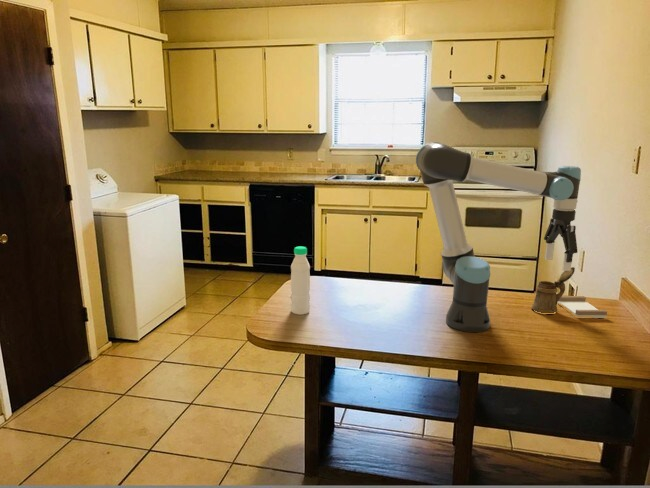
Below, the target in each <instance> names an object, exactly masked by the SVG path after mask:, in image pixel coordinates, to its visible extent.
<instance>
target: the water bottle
mask: <svg viewBox="0 0 650 488" xmlns="http://www.w3.org/2000/svg"><path fill="white" fill-rule="evenodd" d="M293 253H294V258H293V260H292V263H291V265H290V272H291V273H290V289H291V290H290V291H291V294H290V302H291V303H290V312H291V313H293V314H294V315H306V314H309V312H310V309H311V308H310V307H311V305H310V299H311V296H310V290H311V289H310V288H311V274H310V270H311V265H310V263H309V261H308V258H307V255H308V248H307V246H301V245H300V246H296V247H295V246H294V249H293Z"/></svg>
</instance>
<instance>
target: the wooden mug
mask: <svg viewBox="0 0 650 488" xmlns="http://www.w3.org/2000/svg"><path fill="white" fill-rule="evenodd" d="M575 269H576V268H575V266H573V267H572V266H571V271H563V272H562V273H561V275H560V276H559V279H558V280H557V281H554V282H553V281H548V280H541V281H539V282H538V285H537V286H536V294H535V297H534V301H533V304H532V306H531V308H532V309H533V310H535V311H537V312H541V313H554V312H556V311H557V312H558V307H557V306H558V304H557V303H558V300H559V299H560V298H561V296H564V294H565V291H566V284H565V282H567V281H569V279H571V278H572V277H573V275H574V273H575V271H576V270H575ZM558 289H559V292H558ZM532 309H531V310H532Z"/></svg>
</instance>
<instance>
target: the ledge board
mask: <svg viewBox="0 0 650 488" xmlns="http://www.w3.org/2000/svg"><path fill="white" fill-rule="evenodd" d="M586 298H587V297H586V296H584V295H562V296H561V298H560V299H559V300H558V303H559V304H561V305H563V306H564V307H566V308H567V309H568V310H569V311H571V312H572V313H573V314H574V315H576V316H577V317H593V318H606V319H607V315H608V311H607V310H606V309H598V308H596V307H595V306H594V305H592V304H590V303H589V302H588V301H586V300H587V299H586Z"/></svg>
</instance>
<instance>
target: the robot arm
mask: <svg viewBox="0 0 650 488" xmlns="http://www.w3.org/2000/svg"><path fill="white" fill-rule="evenodd" d="M415 164H416V167H417V169H418V171H419V172H420V176H421V179H422V183H423V185H424V187H427V188H428V190H429V194H430V198H431V201H432V205H433V210H434V213H435V218H436V222H437V226H438V229H439V233H440V237H441V242H442V245H443V249H442V250H441V252H440V254H441V255H440V256H441V259H442V262H441V263H442V270H443V272H444V274H445V276H446V278H447V279H449V281H451V283H452V284H453V291H452V292H453V293H452V301H451V304H450V306H449V308H448V310H447V312H446V314H445V323H446V325H448V326H449V327H451V328H452V329H455V330H458V331H461V332H466V333H480V332H486V331H487V330H489V329H490V326H491V325H490V324H491V318H490V314H489V311H488V307H487V304H488V294H489V288H490V287H489V286H490V277H491V266H490V263H488V261H487V260H485V259H483V258H480V257H477V256H475V252H474V247H473V245H471V243H468V240H467V236H466V233H465V232H466V231H465V228H464V224H463V220H462V215H461V211H460V208H459V204H458V199H457V195H456V191H455V185H454V181H456V182H462V183H463V182H465V181H471V182H477V183H481V184H485V185H490V186H494V187H500V188H504V189H509V190H513V191H514V190H515V191H519V192H521V193H522V192H524V193H528V194H533V195H538V196H541V197H545V198H551V199H553V205H552V207H553V209H552V214H551V215H552V216H551V218H550V220H549V224H548V227H547V229H546V232H545V234H544V237H543V240H544V241H545V244H546V245H545V246H546V247H545V253H544V254H545V255H544V260H545V261H553V259H554V251H555V243H556V242H555V241H556V240H557V238H558V237H559V235H560V237H561V238H562V241H563V245H564V249H565V252H564V253H563V262H562V270H561V271H563V272H564V271H571V268H572V263H573V257H574V254H577V253H578V243H577V235H576V227H577V226H576V225H571V222H573V221H575V220H576V212H577V211H576V209H577V203H578V198H579V197H578V196H579V190H580V185H581V176H582V174H581V173H582V170H581V168H580V167H579V166H575V165H574V166H573V165H561V166H559V167H558V169H557V171H537V170H533V169H528V168H525V167H519V166H515V165H510V164H506V163H502V162H501V163H500V162H497V161H492V160H486V159H482V158H478V157H475V156H474V157H473V155H472V153H469V152H466V151H462V150H458V149H456V148H454V147H452V146H450V145H447V144H444V143H440V142H435V141H434V142H433V141H432V142H428V143H426V144H424V145H423V146H421V147H420V149H418V151H417V154H416V156H415Z"/></svg>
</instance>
